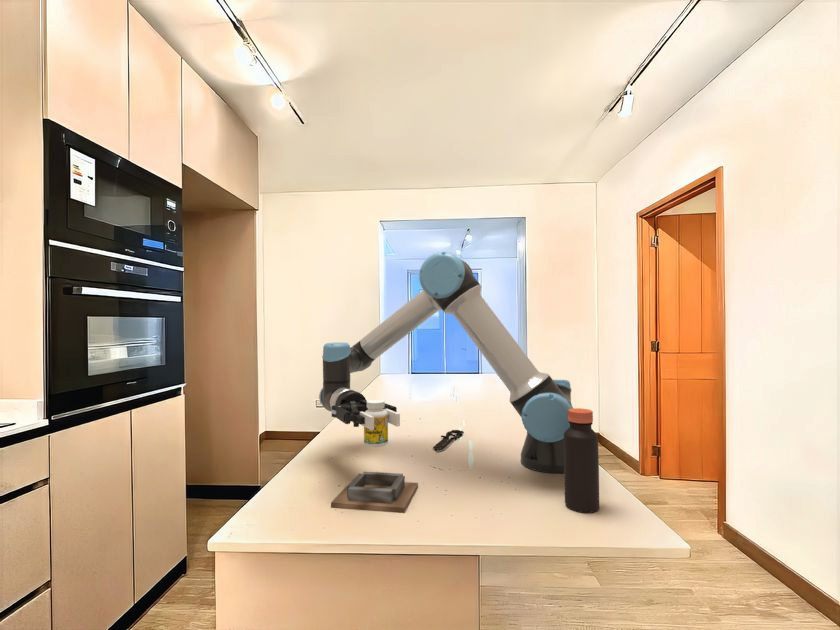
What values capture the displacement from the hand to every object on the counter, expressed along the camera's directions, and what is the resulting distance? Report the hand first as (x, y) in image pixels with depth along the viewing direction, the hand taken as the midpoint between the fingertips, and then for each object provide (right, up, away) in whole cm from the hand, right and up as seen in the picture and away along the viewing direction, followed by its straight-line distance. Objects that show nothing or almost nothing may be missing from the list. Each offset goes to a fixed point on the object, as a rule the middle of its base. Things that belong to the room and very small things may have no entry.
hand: (385, 421), depth 94 cm
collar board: (-2, -18, +4) cm, 18 cm away
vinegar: (+41, -17, -2) cm, 45 cm away
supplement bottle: (-3, -6, +4) cm, 8 cm away
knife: (+17, -19, +49) cm, 55 cm away
